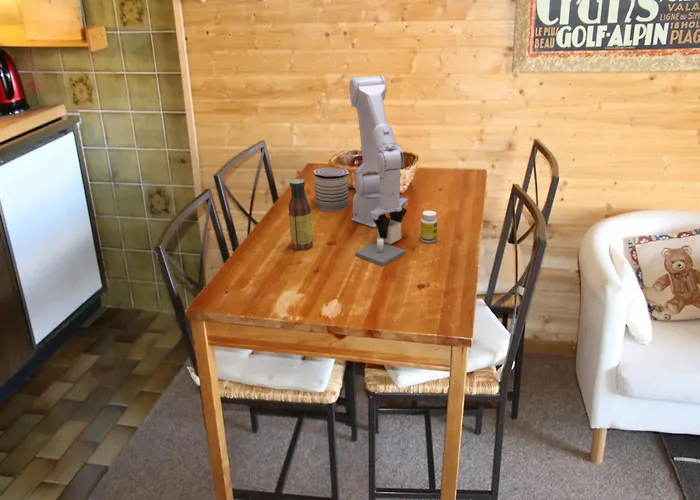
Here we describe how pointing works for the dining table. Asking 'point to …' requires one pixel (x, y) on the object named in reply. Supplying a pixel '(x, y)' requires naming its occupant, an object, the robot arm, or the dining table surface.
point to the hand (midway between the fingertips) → (389, 234)
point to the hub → (392, 232)
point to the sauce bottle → (300, 216)
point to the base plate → (380, 252)
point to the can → (331, 189)
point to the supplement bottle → (429, 226)
